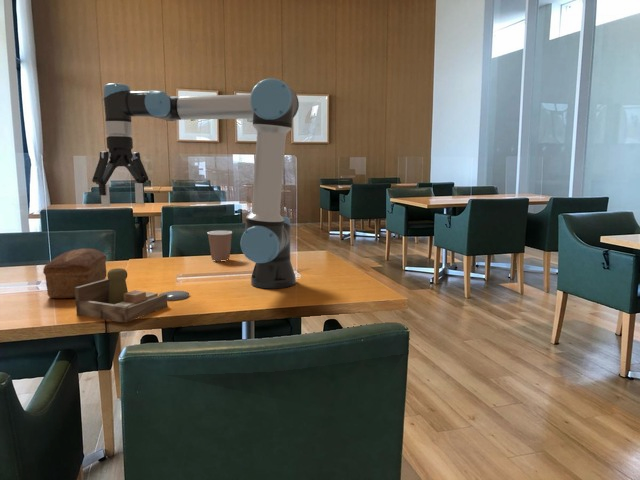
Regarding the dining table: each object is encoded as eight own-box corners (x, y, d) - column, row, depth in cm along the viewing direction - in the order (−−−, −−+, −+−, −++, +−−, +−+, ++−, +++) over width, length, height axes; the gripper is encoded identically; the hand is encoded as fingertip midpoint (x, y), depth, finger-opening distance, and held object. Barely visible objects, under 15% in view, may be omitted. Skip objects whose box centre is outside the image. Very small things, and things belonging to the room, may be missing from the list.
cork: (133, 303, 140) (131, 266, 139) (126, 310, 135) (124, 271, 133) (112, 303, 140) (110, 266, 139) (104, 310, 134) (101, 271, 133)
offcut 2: (146, 311, 134) (145, 291, 133) (136, 315, 130) (135, 295, 129) (135, 309, 135) (134, 290, 135) (124, 313, 132) (123, 293, 131)
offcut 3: (158, 306, 138) (157, 293, 138) (148, 310, 134) (147, 296, 134) (147, 305, 140) (146, 291, 139) (137, 308, 136) (136, 295, 135)
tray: (167, 306, 138) (166, 280, 137) (125, 322, 124) (123, 294, 123) (121, 299, 145) (120, 275, 144) (76, 314, 130) (74, 287, 129)
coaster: (195, 294, 151) (195, 292, 151) (176, 301, 143) (176, 299, 143) (172, 291, 154) (171, 289, 154) (152, 298, 146) (152, 296, 146)
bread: (40, 302, 142) (36, 261, 140) (69, 279, 169) (66, 245, 167) (90, 300, 145) (88, 259, 143) (111, 278, 172) (109, 244, 170)
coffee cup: (238, 259, 206) (237, 231, 204) (221, 263, 197) (220, 234, 195) (220, 257, 211) (219, 229, 209) (202, 261, 202) (201, 232, 200)
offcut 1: (135, 315, 130) (134, 303, 129) (123, 320, 126) (123, 307, 126) (123, 314, 131) (122, 301, 131) (112, 318, 128) (111, 305, 127)
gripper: (140, 138, 163) (143, 201, 166) (75, 134, 141) (81, 207, 144) (157, 137, 160) (160, 202, 163) (94, 133, 137) (99, 208, 141)
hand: (123, 204), depth 154 cm, fingers open, 13 cm apart
